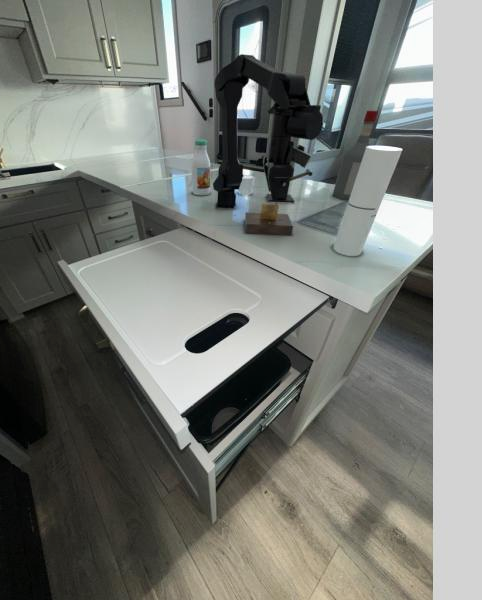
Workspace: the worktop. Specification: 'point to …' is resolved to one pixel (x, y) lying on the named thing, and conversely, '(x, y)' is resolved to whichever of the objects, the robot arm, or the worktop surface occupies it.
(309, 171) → the latch
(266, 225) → the brown flat block
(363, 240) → the cylindrical container
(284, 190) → the latch bracket
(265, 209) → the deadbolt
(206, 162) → the milk bottle
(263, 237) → the worktop surface
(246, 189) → the shot glass
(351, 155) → the liquor
